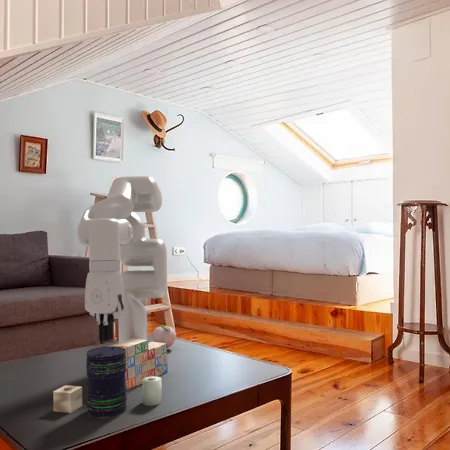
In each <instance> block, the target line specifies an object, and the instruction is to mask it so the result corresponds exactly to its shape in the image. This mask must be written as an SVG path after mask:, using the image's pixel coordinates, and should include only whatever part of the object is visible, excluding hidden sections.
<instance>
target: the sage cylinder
mask: <svg viewBox="0 0 450 450" xmlns="http://www.w3.org/2000/svg"><path fill="white" fill-rule="evenodd" d="M162 383H163V381H162V377H160V376H157V377H155V376H152V377H146V378H144V379H142V387H141V396H142V399H141V400H142V401H141V402H142V405H144V406H147V407H153V406H158V405H161V404H162V402H163V401H162V395H163V393H162V391H163V390H162V387H163V386H162Z"/></svg>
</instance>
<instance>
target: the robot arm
mask: <svg viewBox="0 0 450 450" xmlns="http://www.w3.org/2000/svg"><path fill="white" fill-rule="evenodd" d="M162 203H163V197H162V193H161V189H160V187H159V185H158V182H157V181H156V180H155V179H154V178H153V177H151V176H148V175H147V176H146V175H145V176H121V177H118V178H116V179H114V180H113V182H112V183H111V186H110V188H109V191H108V193H107V196H106V198H104V199H102V200H100V201H98V202H95V203H94V204H91V206H89V207H88V208H86V209H85V210H84V212H83V213H82V216H81V218H80V220H79V223H78V226H77V234H76V235H77V238H78V239H77V240H78V241H79V243H80V244H81V245H82V246H85V247H88V249H89V250H88V251H89V255H88V256H89V262H88V265H89V272H88V273H87V276H86V281H85V289H84V290H85V291H84V310H85V311H87V312H88V313H89V315H90V316H92V317H94V318H95V319H96V323H97V325H98V341H99V342H108V341H111V340H113V339H114V324H115V323H116V320H117V319H118V343H120V342H123V341H126V340H129V339H132V338H135V339H143V340H148V319H147V317H148V314H147V309H146V307H145V306H144V304H143V303H142V302H141V301H140V300H142V299H160V298H164V297H165V296H166V294H167V291H168V258H167V257H168V256H167V255H168V253H167V246H166V243H165V241H163V240H162V239H160V238H146V226H145V223H144V221H143V220H142V218H141V217H140V216H139V215H138V214H137V213H154V212H159V210H160V209H161V208H162ZM121 264H122V265H123V266H125V267H129V268H130V267H138V268H139V267H151V268H153V269H152V270H151V269H149V270H146V269H145V270H140V269H139V270H126V271H125V270H124V271H122V272H121Z"/></svg>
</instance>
